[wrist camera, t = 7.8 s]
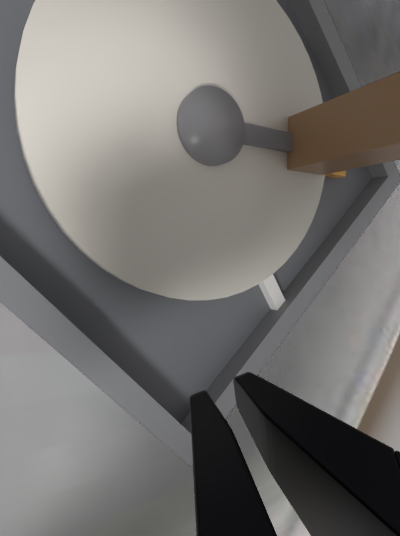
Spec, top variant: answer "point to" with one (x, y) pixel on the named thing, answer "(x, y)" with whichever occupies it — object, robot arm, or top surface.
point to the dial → (186, 136)
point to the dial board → (157, 306)
